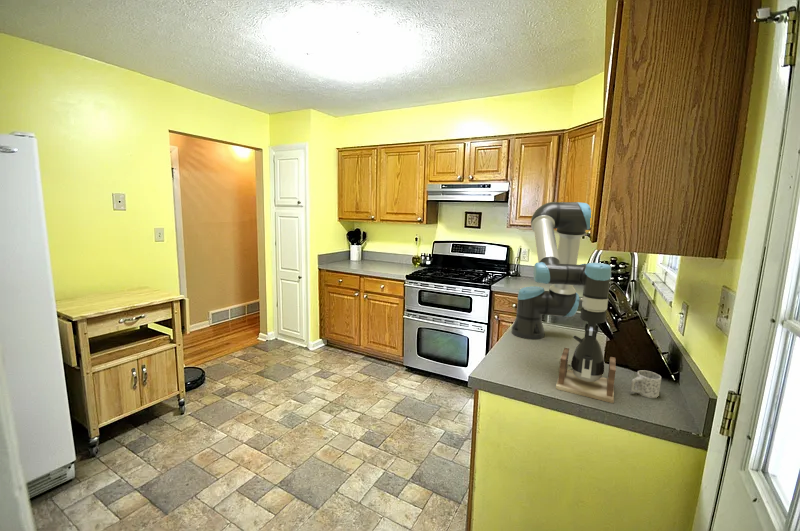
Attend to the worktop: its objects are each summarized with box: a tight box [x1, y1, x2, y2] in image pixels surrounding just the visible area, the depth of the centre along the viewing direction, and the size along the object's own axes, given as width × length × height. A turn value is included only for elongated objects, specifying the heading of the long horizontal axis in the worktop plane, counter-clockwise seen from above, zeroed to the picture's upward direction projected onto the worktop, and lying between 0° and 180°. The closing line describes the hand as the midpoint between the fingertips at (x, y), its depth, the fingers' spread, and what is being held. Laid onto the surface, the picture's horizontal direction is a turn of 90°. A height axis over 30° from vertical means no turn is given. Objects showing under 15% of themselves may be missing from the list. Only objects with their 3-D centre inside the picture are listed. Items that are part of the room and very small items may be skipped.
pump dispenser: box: [570, 335, 605, 382], centre depth 123 cm, size 10×10×15 cm
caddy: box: [555, 347, 617, 404], centre depth 123 cm, size 16×17×10 cm
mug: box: [629, 369, 662, 399], centre depth 119 cm, size 10×7×7 cm
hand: (586, 371), depth 123 cm, fingers closed on pump dispenser, 10 cm apart
